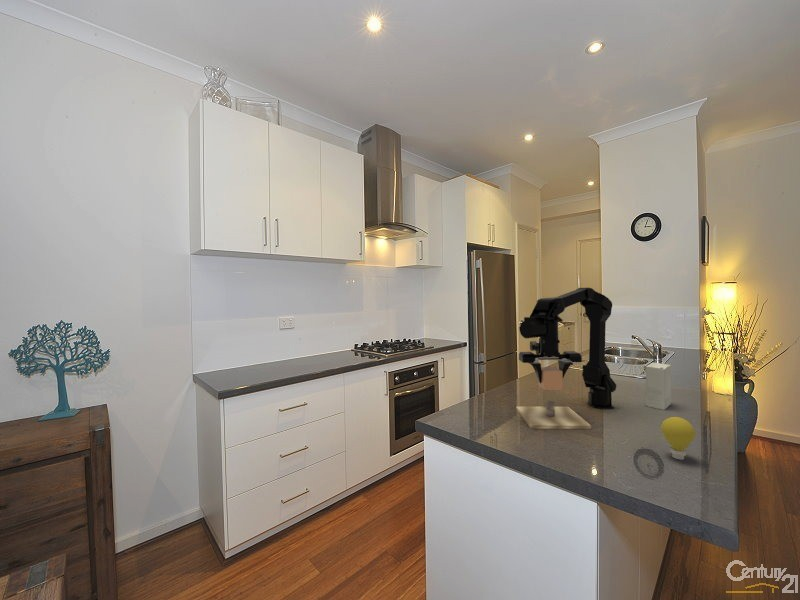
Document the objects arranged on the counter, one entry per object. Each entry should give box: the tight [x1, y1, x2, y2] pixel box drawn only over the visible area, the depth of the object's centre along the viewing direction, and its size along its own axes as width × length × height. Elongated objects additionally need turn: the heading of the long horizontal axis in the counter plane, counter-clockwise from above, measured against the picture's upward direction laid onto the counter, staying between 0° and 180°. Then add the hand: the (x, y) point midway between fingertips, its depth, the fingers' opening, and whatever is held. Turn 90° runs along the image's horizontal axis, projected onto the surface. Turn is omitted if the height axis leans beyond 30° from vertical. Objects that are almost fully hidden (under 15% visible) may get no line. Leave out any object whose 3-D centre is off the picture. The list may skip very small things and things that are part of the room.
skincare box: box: [645, 362, 672, 411], centre depth 125 cm, size 8×6×15 cm
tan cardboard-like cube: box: [537, 366, 564, 391], centre depth 115 cm, size 6×6×6 cm
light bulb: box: [660, 416, 696, 460], centre depth 87 cm, size 7×7×10 cm
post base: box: [515, 400, 592, 430], centre depth 116 cm, size 18×18×6 cm
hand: (550, 382), depth 116 cm, fingers closed on tan cardboard-like cube, 6 cm apart
